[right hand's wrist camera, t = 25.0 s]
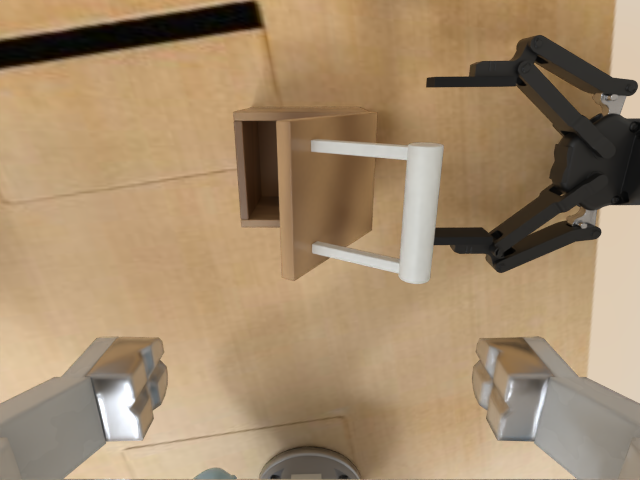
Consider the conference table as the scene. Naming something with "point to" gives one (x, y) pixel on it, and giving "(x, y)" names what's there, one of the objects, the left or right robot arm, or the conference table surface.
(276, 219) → the chest
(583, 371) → the conference table surface
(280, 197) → the lid
